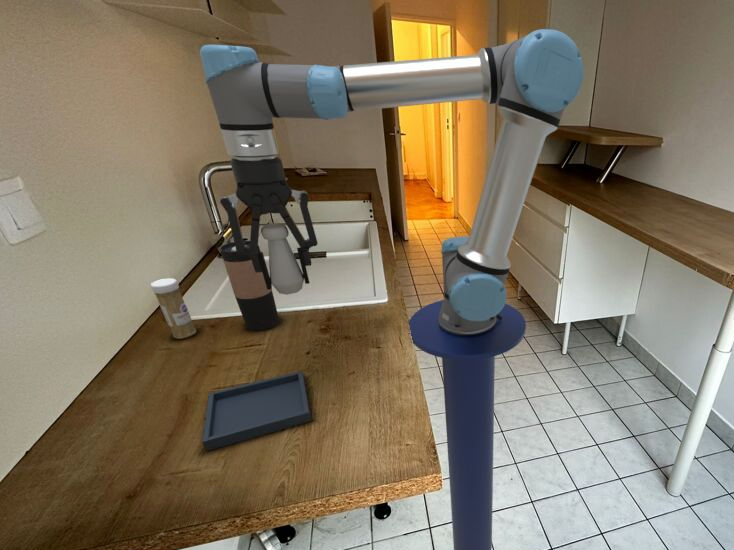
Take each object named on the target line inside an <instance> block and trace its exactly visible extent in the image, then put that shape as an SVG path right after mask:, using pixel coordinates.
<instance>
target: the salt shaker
mask: <svg viewBox="0 0 734 550" xmlns="http://www.w3.org/2000/svg"><path fill="white" fill-rule="evenodd" d="M289 233H290V232H289V228H288V226H287V225H286V224H283V223H279V222H278V223H277V222H272V223H267V224H265V225H263V226H262V227H261V228H260V234H261V236H262V238H263V239H264V240H267V249H268V265H269V276H270V281H271V283H272V287H273V288H274V289H275V290H276V291H277V293H278V294H280V295H281V294H282V295H292V294H296V293H299V292H300V291H301V290H302V288H303V286H304V282H305V280H304V276H303V272H302V268H301V266H300V265H299V263H298V260H297V258H296V256H295V254H294V251H293V250H292V248H291V245H290V243H289V241H288V239H287V238H288V237H289Z"/></svg>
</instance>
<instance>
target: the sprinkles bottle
mask: <svg viewBox="0 0 734 550" xmlns="http://www.w3.org/2000/svg"><path fill="white" fill-rule="evenodd" d="M150 288H151V290H152V293H154V295H155V297H156V299H157V301H158V304H159V307H160V310H161V311H162V313H163V316H164V318H165V320H166V323H167V326H168V327H169V328H170V331H171V333H172V337H173V338H175V339H180V340H181V339H186V338H190V337H192V336H194V335H196V333H197V328H195V325H194V322H193V320H192V316H191V313H190V312H189V309H188V307H187V305H186V303H185V300H184V298H183V296H182V293H181V290H180V286H179V283H178V281H177V279H175V278H170V277H169V278H168V277H167V278H161V279H157V280H155V281H152V282H151V283H150Z"/></svg>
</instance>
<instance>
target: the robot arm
mask: <svg viewBox="0 0 734 550" xmlns="http://www.w3.org/2000/svg"><path fill="white" fill-rule="evenodd" d="M580 52H581V51H579V48H578V46H577V45H576V43H575V42H574V40H573V39H572V38H571V37H569V36H568V35H567V34H566V33H564V32H561V31H560V30H557V29H548V28H542V29H537V30H534V31H532V32H530V33H528V34H527V35H526V36H522V37H519V38H517V39H515V40H512V41H510V42H507V43H505V44H501V45H496V46H491V47H481V48H480V49H479V51H478V53H477V54H469V55H458V56H457V55H455V56H445V57H444V56H443V57H432V58H421V59H408V60H407V59H406V60H397V61H394V60H393V61H381V62H372V63H358V64H346V65H345V64H344V65H332V66H331V65H330V66H327V65H323V64H289V63H287V64H284V63H283V64H282V63H266V62H261V60H260V58H258V54H257V51H256V50H255V49H254V48H252V47H248V46H243V45H242V46H241V45H228V44H205V45H203V46H201V48H200V50H199V55H200V61H201V64H202V65H201V66H202V68H203V73H204V77H205V78H204V80H205V84H207V88H208V91H209V94H210V99H211V100H212V104H213V108H214V110H215V115H216V117H217V120H218V124H219V127H220V132H221V135H222V139H223V143H224V145H225V149H226V152H227V155H229V156H230V157H232V158H231V159H230V161H229V162H230V166H231V170H232V173H233V177H234V180H235V183H236V189H235V193H233V194H229V195H222V196H221V197H220V200H219V202H220V205H221V206H222V208H223V209H224V210H225V212H226V214H227V217H228V222H229V227H230V231H231V235H232V238H233V242H234V243H235V247H236V251H237V253H238V254H239V255H243V254H244V255H248V256H250V257H251V260H252V263H253V266H254V270H255V271H256V273H258V272H262V273H263V276H264V280H265V283H266V287H267V290H269V289H272V290H273V285H272V283H271V281H270V272H269V269H268V266H267V262H266V259H265V256H264V252H263V251H261V252H258V245H259V236H260V225H261V224H260V222H261V216H263V215H268V214H279V215H280V218H281V219H282V220H283V221H284V223H285V226H286V227H287V229H288V230H289V231H290V233H291V234H292V236H293V238H294V239H295V241H296V243H297V244H298V247H296V250H297V255H298V259H299V263H300V268H301V271H302V273H303V276H304V284H305V285H307V284H308V285H309V284H310V279H309V275H308V270H307V267H309V266H310V267H311V266H312V259H311V254H310V249H311V248H312V247H316V246H318V244H319V243H318V239H317V235H316V232H315V228H314V225H313V222H312V218H311V215H310V211H309V207H308V204H309V194H308V192H307V191H306V190H296V189H292V188H291V186H290V185H289V184H288V182H287V177H286V174H285V169H284V166H283V162H282V158H280V157H279V156H277V155H279V154H280V148H279V144H278V140H277V135H276V131H275V127H274V123H273V118H276V119H283V118H286V119H317V120H318V119H319V120H324V121H328V120H334V119H339V120H340V119H344V118H346V117H347V115H348V113H351V112H357V111H359V112H360V111H369V110H370V111H371V110H378V109H379V110H381V109H389V108H390V109H392V108H401V107H402V108H403V107H410V106H411V107H413V106H422V105H433V104H434V105H435V104H443V103H455V102H465V101H476V100H481V101H483V103H485V104H486V105H493V104H497V106H496V107H497V110H498V113H499V115H500V117H501V123H500V127H499V130H498V133H497V137H496V141H495V145H494V148H493V151H492V155H491V159H490V162H489V166H488V169H487V173H486V176H485V180H484V184H483V186H482V190H481V192H480V193H481V194H480V197H479V201H478V203H477V207H476V212H475V215H474V218H473V222H472V226H471V229H470V233H469V235H466V236H464V235H463V236H453V237H449V238H446V239H444V240H443V241H442V243H441V250H440V254H441V264H442V275H443V276H442V280H443V281H442V282H443V299H442V300H443V303H442V306H441V310H440V313H439V317H438V322H439V327H440V329H441V330H442V331H444V332H445V333H447V334H449V335H453V336H457V337H476V336H481V335H484V334H486V333H489V332H490V331H492V330H493V329H494V328H495V326H496V318H498V319H499V320H501V319H502V316H500V315H498V313H499V312H500V311H501V310H502V309H503V307H504V305H505V303H506V304H507V297H508V296H507V288H506V286H505V284H506V281H507V279H508V275H509V272H510V270H511V266H512V262H511V260H510V259H509V256H508V253H509V250H510V246H511V243H512V240H513V237H514V234H515V231H516V229H517V225H518V222H519V219H520V217H521V214H522V210H523V207H524V204H525V201H526V198H527V195H528V193H529V189H530V186H531V184H532V180H533V177H534V174H535V171H536V169H537V165H538V162H539V160H540V157H541V154H542V150H543V147H544V144H545V141H546V138H547V137H548V136H549V135H550V134H552V133H553V132H555V131H557V130H558V128H559V125H560V123H561V119H562V117H563V114H564V110H565V109H566V108H567V107H569V105H570V104H571V103H573V102H574V100H575V99H576V97H577V96H578V94H579V92H580V91H581V87H582V85H583V79H584V62H583V58H582V56H581V53H580ZM291 197H292V198H293V199H294V201H295V203H296V204H299V208H300V212H301V215H302V218H303V221H304V225H305V229H306V232H307V233H306V234H307V236H308V238H307V239H305V238H304V236H303V234H302V232H301V231H300V229H299V227H298V226H297V224H296V222H295V220H294V219H293V217H292V216H291V214H290V212H289V210H288V209H287V205H288V202H289V201H290V199H291ZM238 201H240V202H242V203H243V204H244V205H245V206H246V207H248V208H249V209H250V210H251V223H250V239H249V241H250V247H249V246H245V245H244V241H245V240H244V237H243V233H242V227H241V224H240V219H239V215H238V210H237V208H238V206H239V203H238Z"/></svg>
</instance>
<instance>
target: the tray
mask: <svg viewBox="0 0 734 550" xmlns="http://www.w3.org/2000/svg"><path fill="white" fill-rule="evenodd" d="M310 422H312V416H311V409H310V404H309V397H308V392H307V387H306V381H305V376H304V373H303V370H300V371H296V372H291V373H287V374H283V375H278V376H274V377H270V378H266V379H261V380H256V381H254V382H248V383H244V384H241V385H237V386H232V387H228V388H223V389H219V390H216V391H212V392H211V391H210V392H209V393H208V398H207V406H206V413H205V419H204V425H203V426H204V427H203V435H202V444H203V446H204V448H205V451H206V452H210V451H213V450H216V449H219V448H222V447H226V446H229V445H232V444H237V443H241V442H244V441H248V440H250V439H255V438H257V437H261V436H264V435H268V434H271V433H275V432H278V431H282V430H286V429H289V428H292V427H295V426H299V425H302V424H305V423H310Z"/></svg>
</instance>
